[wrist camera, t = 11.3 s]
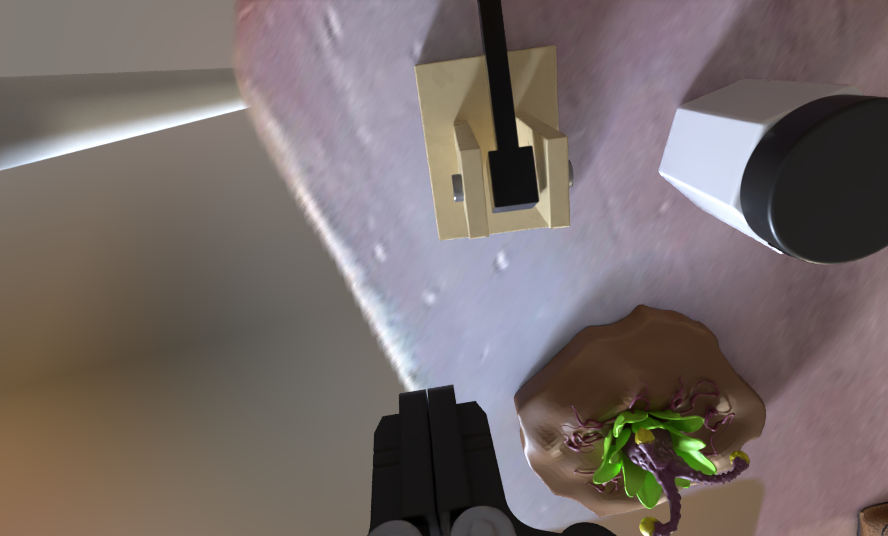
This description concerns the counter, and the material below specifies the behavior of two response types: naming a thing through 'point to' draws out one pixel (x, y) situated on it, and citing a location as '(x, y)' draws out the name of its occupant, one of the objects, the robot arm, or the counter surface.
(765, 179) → the jar
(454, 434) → the robot arm
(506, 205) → the lever
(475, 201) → the bracket
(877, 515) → the sunglasses case
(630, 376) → the plant
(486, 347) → the counter surface
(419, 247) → the counter surface
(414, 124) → the counter surface
